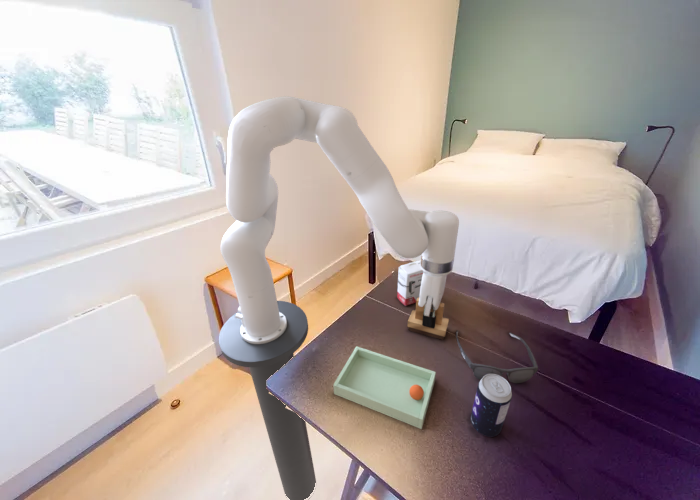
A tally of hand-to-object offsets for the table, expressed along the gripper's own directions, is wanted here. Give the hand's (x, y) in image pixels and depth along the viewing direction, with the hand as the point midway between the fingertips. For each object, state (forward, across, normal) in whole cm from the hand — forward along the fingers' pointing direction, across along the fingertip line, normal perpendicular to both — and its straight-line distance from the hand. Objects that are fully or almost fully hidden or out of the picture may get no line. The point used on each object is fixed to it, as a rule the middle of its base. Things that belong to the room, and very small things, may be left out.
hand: (430, 319), depth 84 cm
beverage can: (+4, +22, +16) cm, 27 cm away
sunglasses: (+4, +3, +16) cm, 17 cm away
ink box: (+4, -12, -8) cm, 15 cm away
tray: (+4, +22, -5) cm, 23 cm away
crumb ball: (+2, +22, +2) cm, 22 cm away
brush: (+4, 0, -1) cm, 4 cm away
